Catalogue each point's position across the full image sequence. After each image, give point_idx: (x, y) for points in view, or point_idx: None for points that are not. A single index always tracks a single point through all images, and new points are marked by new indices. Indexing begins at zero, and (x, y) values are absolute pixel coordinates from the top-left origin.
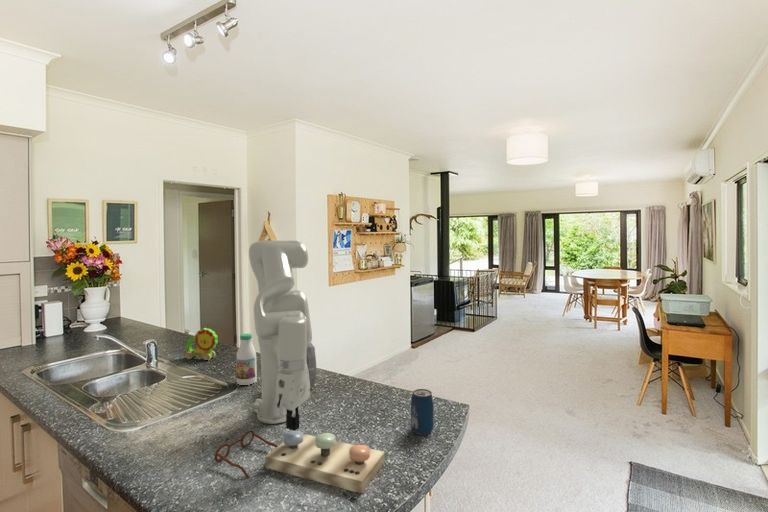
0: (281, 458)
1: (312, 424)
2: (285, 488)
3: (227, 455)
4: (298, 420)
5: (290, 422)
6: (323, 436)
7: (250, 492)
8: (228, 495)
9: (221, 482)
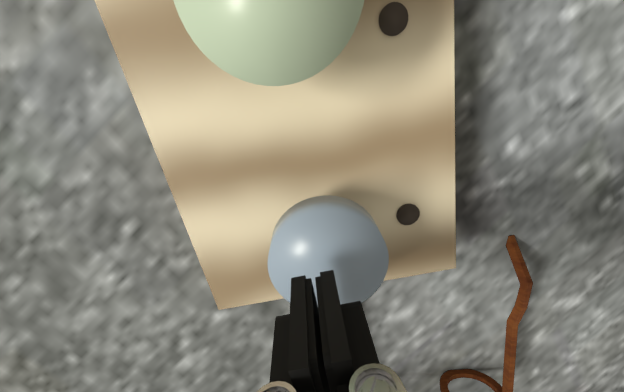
0: (438, 198)
1: (86, 322)
2: (523, 61)
3: (442, 376)
4: (302, 319)
5: (371, 340)
6: (262, 17)
7: (587, 165)
8: (621, 214)
9: (561, 285)
